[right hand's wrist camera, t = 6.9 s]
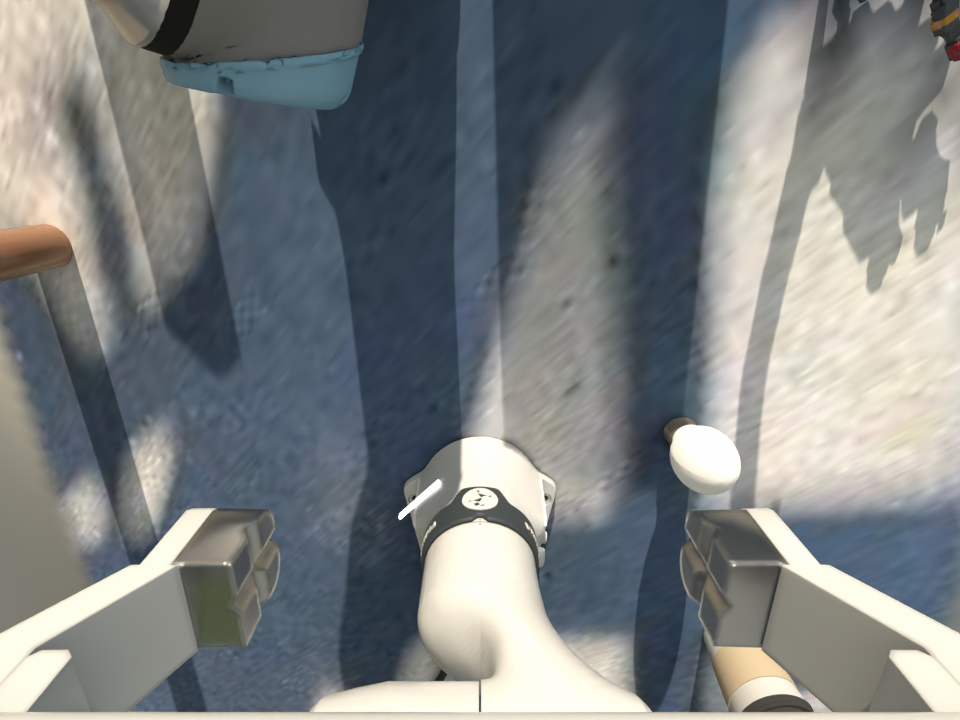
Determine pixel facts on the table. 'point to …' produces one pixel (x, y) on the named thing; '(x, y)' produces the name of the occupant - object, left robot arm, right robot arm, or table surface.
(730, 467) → the light bulb
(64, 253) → the copper grooved cylinder
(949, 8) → the toy
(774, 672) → the coffee cup
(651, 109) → the table surface
